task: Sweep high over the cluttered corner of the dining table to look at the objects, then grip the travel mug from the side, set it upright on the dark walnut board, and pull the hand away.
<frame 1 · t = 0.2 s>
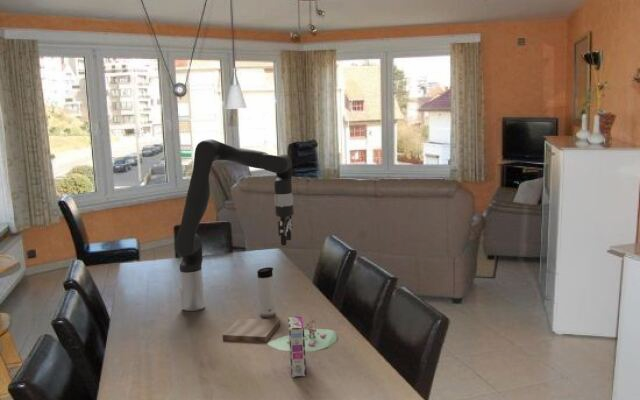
hand: (286, 242, 243), 29 cm above the table, tool pointing down, fingers open, 8 cm apart
travel mug: (268, 315, 245), on the table
candy bar box: (298, 370, 192), on the table
walnut board: (252, 332, 227), on the table
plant: (303, 343, 215), on the table
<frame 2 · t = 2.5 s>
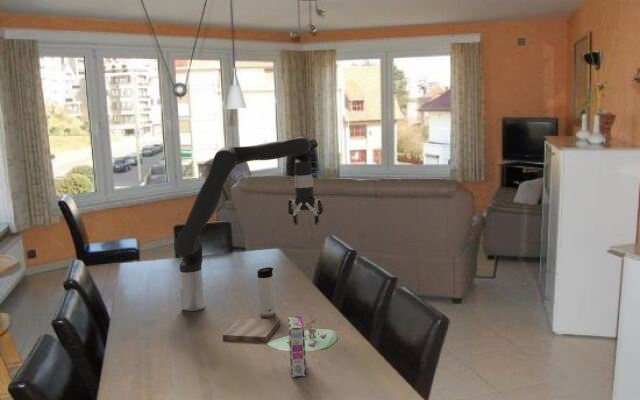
hand: (306, 224, 244), 36 cm above the table, tool pointing down, fingers open, 8 cm apart
nothing on the table moved.
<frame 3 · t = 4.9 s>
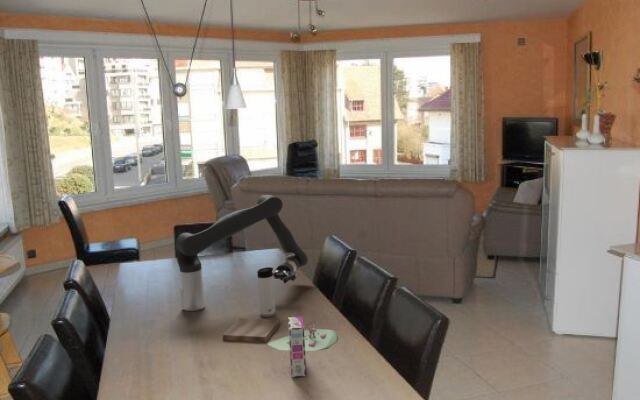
hand: (275, 280, 253), 11 cm above the table, tool horizontal, fingers open, 8 cm apart
nothing on the table moved.
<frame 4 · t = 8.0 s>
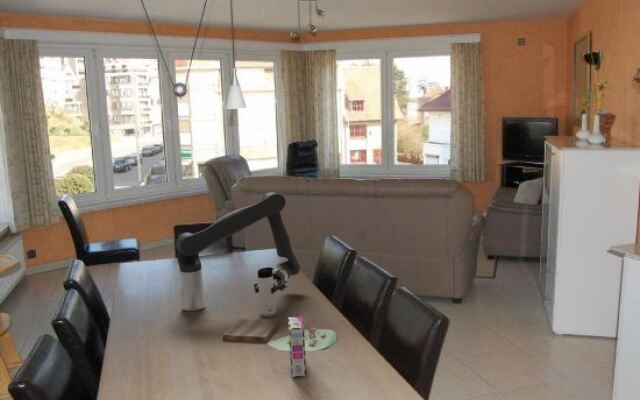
hand: (264, 290, 241), 11 cm above the table, tool horizontal, fingers closed on travel mug, 6 cm apart
travel mug: (268, 315, 245), on the table, touching gripper
everything else where it was.
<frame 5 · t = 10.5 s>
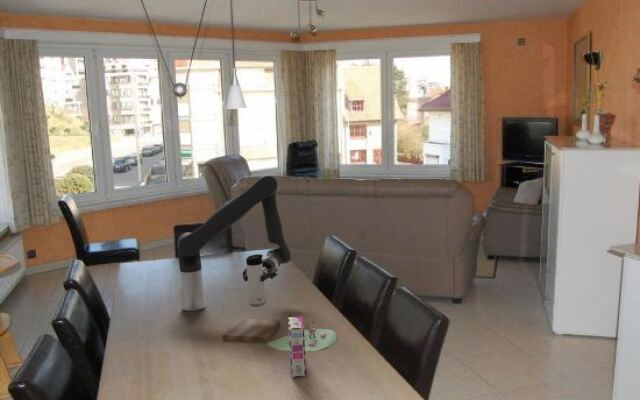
hand: (253, 279, 228), 20 cm above the table, tool horizontal, fingers closed on travel mug, 6 cm apart
travel mug: (258, 304, 232), point 8 cm above the table, touching gripper
everything else where it was.
when the fingers open (14 cm above the table, at t = 13.0 s): travel mug drops 1 cm, resting on walnut board.
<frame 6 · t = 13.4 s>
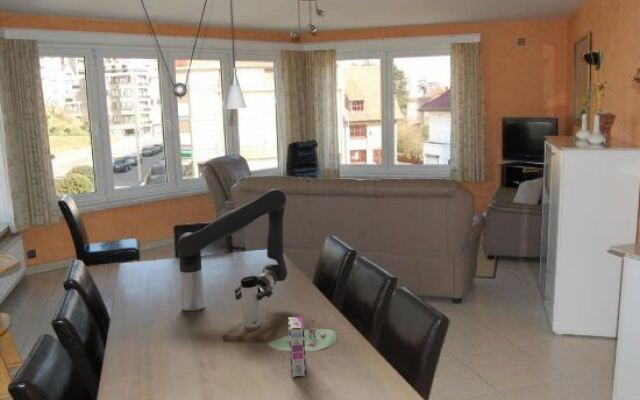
hand: (247, 297, 222), 15 cm above the table, tool horizontal, fingers open, 8 cm apart
travel mug: (252, 327, 226), point 2 cm above the table, touching walnut board
everything else where it was.
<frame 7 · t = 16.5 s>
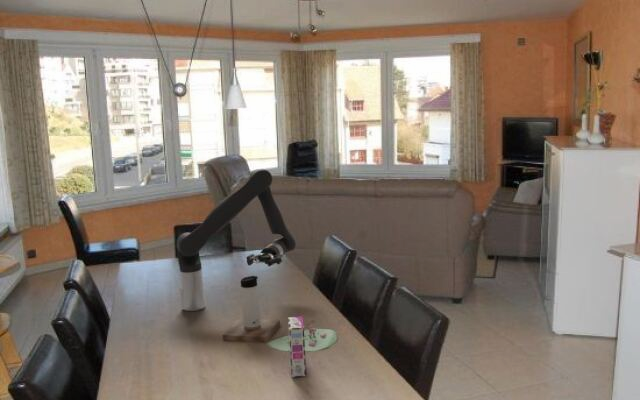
hand: (258, 263, 235), 24 cm above the table, tool horizontal, fingers open, 8 cm apart
nothing on the table moved.
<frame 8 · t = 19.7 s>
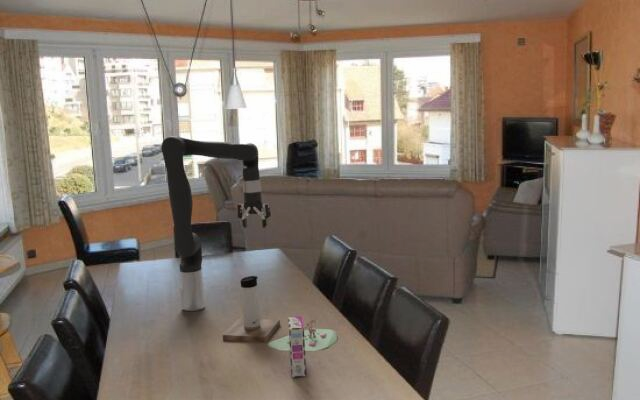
hand: (255, 227, 254), 34 cm above the table, tool pointing down, fingers open, 8 cm apart
nothing on the table moved.
at the end: travel mug inside the target area on the walnut board (0.4 cm from its centre), point 1.8 cm above the walnut board's base; travel mug tilted 0°; the gripper is holding nothing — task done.
